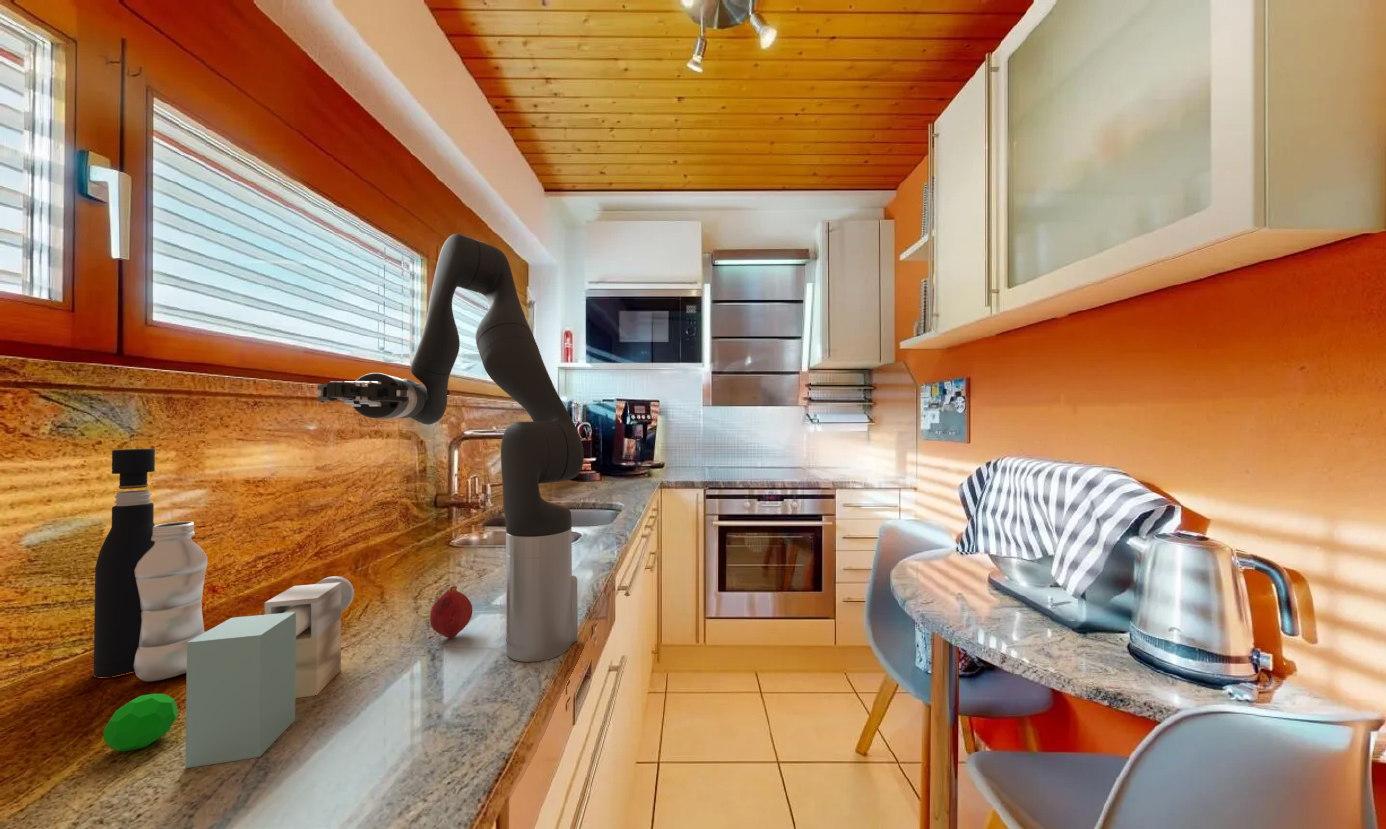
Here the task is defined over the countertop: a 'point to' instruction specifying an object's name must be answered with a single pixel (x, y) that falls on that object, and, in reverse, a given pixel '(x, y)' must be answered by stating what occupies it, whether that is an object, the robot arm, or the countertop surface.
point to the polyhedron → (140, 722)
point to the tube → (305, 609)
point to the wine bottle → (123, 566)
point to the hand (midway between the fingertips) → (335, 389)
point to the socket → (240, 688)
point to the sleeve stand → (314, 634)
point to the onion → (450, 613)
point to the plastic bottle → (169, 601)
